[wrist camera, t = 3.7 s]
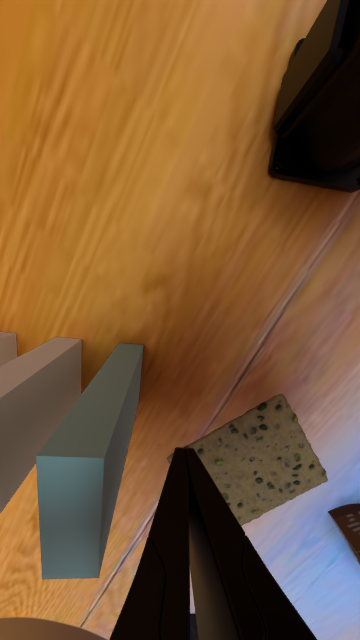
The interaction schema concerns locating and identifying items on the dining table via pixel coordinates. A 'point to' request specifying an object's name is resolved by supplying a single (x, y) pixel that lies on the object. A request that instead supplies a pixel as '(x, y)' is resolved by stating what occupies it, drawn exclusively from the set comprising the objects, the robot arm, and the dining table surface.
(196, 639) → the travel mug
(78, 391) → the domino
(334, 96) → the robot arm
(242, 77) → the dining table surface
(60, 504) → the domino
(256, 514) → the speckled square tile
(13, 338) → the domino
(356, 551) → the food container
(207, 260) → the dining table surface
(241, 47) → the dining table surface
